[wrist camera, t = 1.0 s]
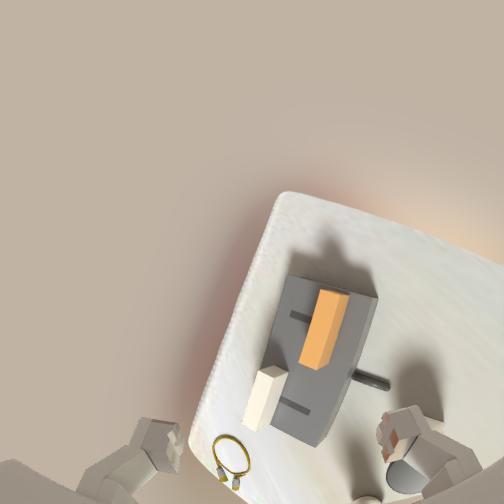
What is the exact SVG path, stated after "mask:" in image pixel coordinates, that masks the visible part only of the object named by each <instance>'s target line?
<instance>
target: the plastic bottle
mask: <svg viewBox="0 0 504 504" xmlns="http://www.w3.org/2000/svg"><path fill="white" fill-rule="evenodd" d="M351 504H381V502H380V501H379V500H378V499H377V498H375V497H371V496H364V497H360V498H358V499H356V500H354V501H353V502H352V503H351Z"/></svg>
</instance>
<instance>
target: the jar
mask: <svg viewBox="0 0 504 504" xmlns="http://www.w3.org/2000/svg"><path fill="white" fill-rule="evenodd" d="M424 417H425V418H426V420H427V422H428V424H429V426H430V428H431V430H432V431H433V430H436V431H438V432H440V433H442V434H443V435H444V423H443V422H441V421H438V420H435V419H432V418H429V417H426V416H424ZM386 481H387V483H388V485H389V486H390V488H392V489H393V490H394V491H396V492H399V493H402V494H415V493H419V492H422V491H421V490H422V489H423V488H424V486H425V485H426V484H427V483H428V482H429V480H428V479H427V478H425V477H424V476H423V475H422V474H420V473H419V472H418V471H417V470H415V469H414V468H413V467H411V466H410V465H409V464H408V463H406V462H405V461H404V460H403V459H400V460H397V461H393V462H390V465H389V467H388V470H387V473H386Z"/></svg>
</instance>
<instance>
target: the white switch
mask: <svg viewBox="0 0 504 504" xmlns="http://www.w3.org/2000/svg"><path fill="white" fill-rule="evenodd" d="M288 373H289V372H287V371H285V370H283V369H281V368H279V367H277V366H274V365H273V366H270V367H267V368H264V369H261V370H258V373H257V376H256V379H255V382H254V386H253V389H252V392H251V395H250V398H249V401H248V404H247V408H246V411H245V414H244V417H243V420H242V423H241V424H243V425H245V426H246V427H248V428H249V429H251V430H253V431H254V432H256V431H257V430H259V429H261V428H263V427H265V426H266V425H268V424H270V423H271V420H272V417H273V415H274V412H275V409H276V407H277V404H278V401H279V398H280V396H281V393H282V390H283V387H284V384H285V381H286V379H287V376H288Z"/></svg>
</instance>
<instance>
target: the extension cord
mask: <svg viewBox="0 0 504 504" xmlns="http://www.w3.org/2000/svg"><path fill="white" fill-rule="evenodd" d="M223 438H227V439H231V440H233V441H235V442H236V443H238V444H239V445H240V447H241V448H242V449H243V451H244V453H245V455H246V457H247V460H248V470H247V472H245V473H248V471H249V470H250V458H249V455H248V452H247V451H246V449H245V448H244V447H243V446H242V445H241V444H240V443H239V442H238V441H237V440H236V439H234V438H232V437H229V436H224V437H221V438H219V439H217V440H216V441H215V442H214V444H213V447H212V449H213V454H214V458H215V460H216V463H217V466H218V468H217V469H216V470H217V472H218V475H219V478H220V479H219V481H221V482H226V481H228V479H227V476H226V475H225V473H224V471H223V470H222V468H221V467H219V465H218V462H219V463H220V461H219V460H218V458H217V457H216V455H215V452H214V446H215V444H216V443H217V442H218V441H219V440H220V439H223ZM217 461H218V462H217ZM220 464H221V463H220ZM221 465H222V464H221ZM222 466H223V465H222ZM223 467H224V466H223ZM224 468H225V467H224ZM225 469H226V470H227V471H229V470H228V469H227V468H225ZM229 472H230V473H232V472H231V471H229ZM245 473H239V474H235V473H232V474H234V475H241V474H244V475H241V476H239V477H235V478H234V479H233V482H232V489H233V490H234V491H237V490H238V489H239V486H240V483H239V478H240V477H242V476H245V475H246V474H245Z"/></svg>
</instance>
